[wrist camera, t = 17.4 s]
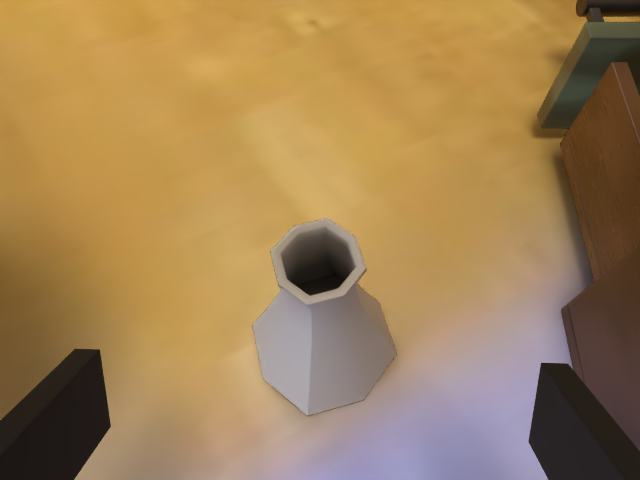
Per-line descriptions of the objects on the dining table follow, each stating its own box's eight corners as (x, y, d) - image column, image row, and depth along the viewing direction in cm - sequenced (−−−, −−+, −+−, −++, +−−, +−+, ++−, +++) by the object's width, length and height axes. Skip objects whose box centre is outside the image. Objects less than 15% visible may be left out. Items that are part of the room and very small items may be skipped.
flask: (302, 444, 23) (282, 411, 14) (230, 322, 26) (176, 234, 17) (421, 360, 25) (468, 285, 16) (341, 255, 28) (344, 142, 19)
